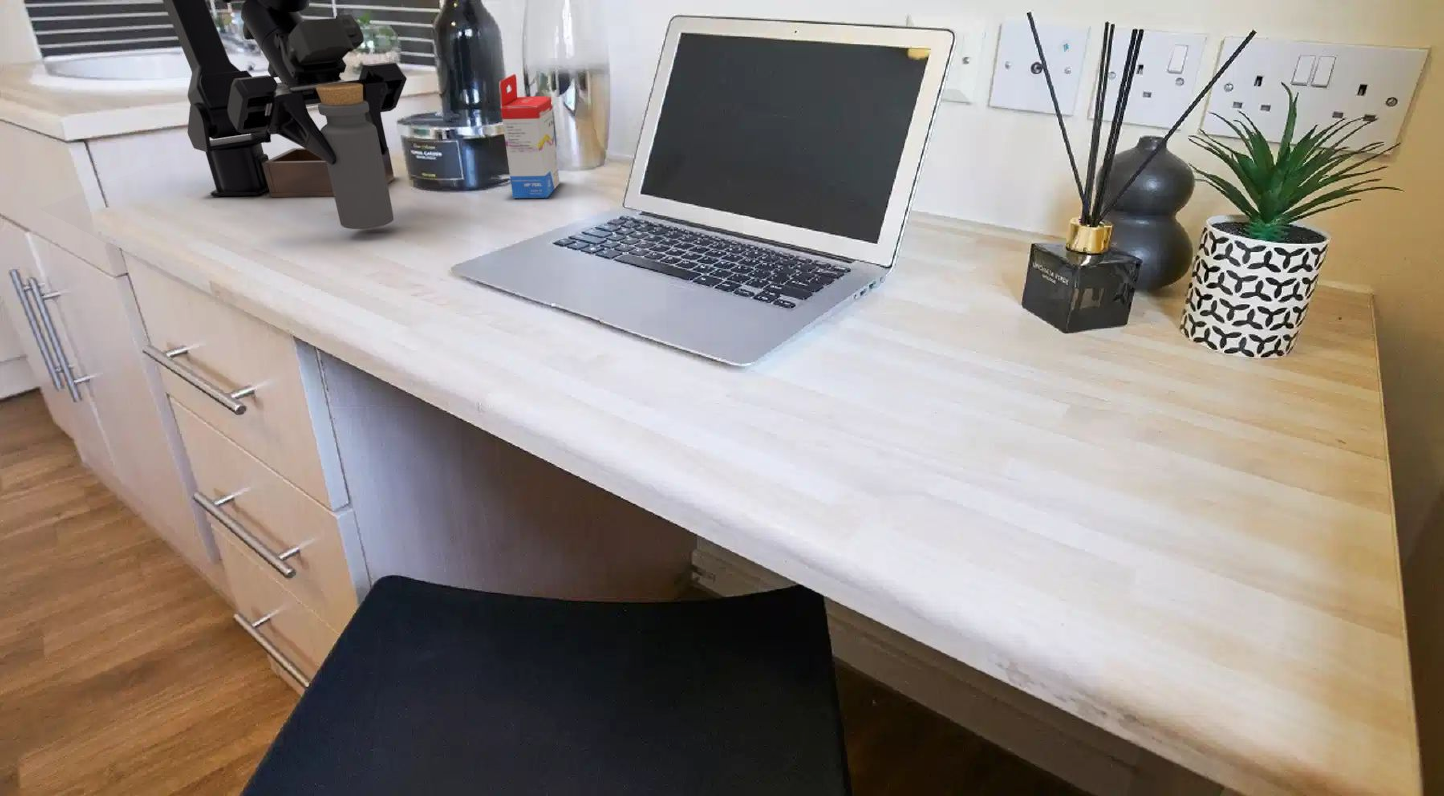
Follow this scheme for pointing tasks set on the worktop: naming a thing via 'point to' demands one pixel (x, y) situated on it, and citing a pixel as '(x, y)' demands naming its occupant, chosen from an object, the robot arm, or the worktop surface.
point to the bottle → (354, 158)
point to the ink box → (529, 142)
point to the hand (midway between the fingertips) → (360, 157)
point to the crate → (304, 174)
